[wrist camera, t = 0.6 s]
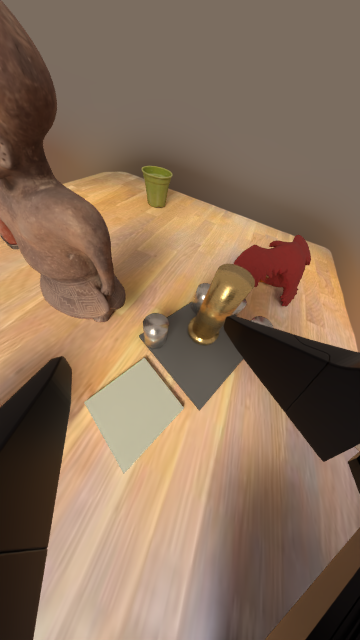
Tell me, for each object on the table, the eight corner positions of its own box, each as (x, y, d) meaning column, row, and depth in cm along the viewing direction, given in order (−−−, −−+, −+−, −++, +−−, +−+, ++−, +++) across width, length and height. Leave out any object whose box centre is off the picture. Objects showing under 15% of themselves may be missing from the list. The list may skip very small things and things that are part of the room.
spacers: (260, 338, 29) (279, 325, 25) (199, 410, 20) (212, 408, 16) (207, 292, 33) (215, 275, 29) (139, 337, 25) (137, 321, 21)
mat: (259, 338, 29) (260, 337, 29) (199, 410, 21) (199, 410, 20) (206, 292, 33) (207, 291, 33) (138, 336, 25) (138, 335, 25)
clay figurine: (44, 312, 25) (-523, -234, 4) (89, 278, 30) (-46, -25, 9) (109, 349, 23) (-236, -207, 2) (145, 306, 29) (130, 20, 8)
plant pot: (162, 213, 50) (164, 179, 43) (137, 203, 51) (135, 169, 44) (173, 204, 56) (177, 173, 48) (151, 196, 56) (151, 163, 49)
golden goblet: (222, 333, 28) (268, 282, 17) (203, 351, 25) (242, 304, 14) (201, 313, 30) (231, 255, 19) (181, 328, 27) (201, 270, 16)
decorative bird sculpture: (289, 289, 46) (291, 236, 41) (329, 290, 38) (337, 224, 33) (222, 321, 35) (213, 254, 30) (259, 332, 27) (255, 243, 22)
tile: (183, 408, 21) (184, 408, 20) (124, 472, 16) (123, 474, 16) (144, 358, 23) (144, 357, 23) (85, 402, 19) (84, 402, 19)
